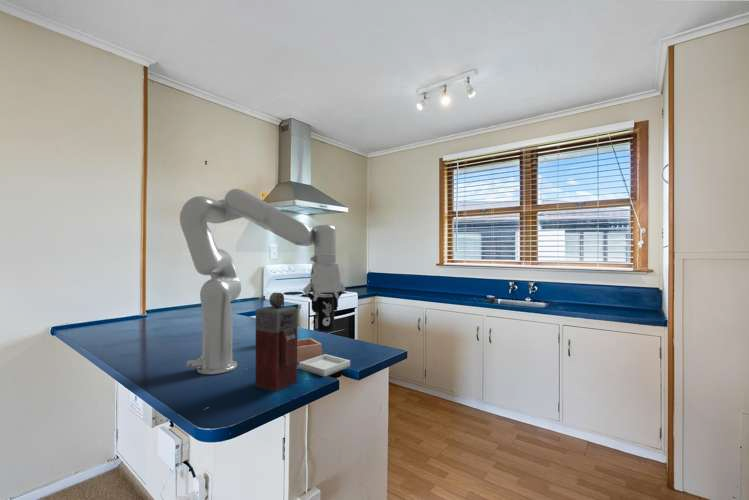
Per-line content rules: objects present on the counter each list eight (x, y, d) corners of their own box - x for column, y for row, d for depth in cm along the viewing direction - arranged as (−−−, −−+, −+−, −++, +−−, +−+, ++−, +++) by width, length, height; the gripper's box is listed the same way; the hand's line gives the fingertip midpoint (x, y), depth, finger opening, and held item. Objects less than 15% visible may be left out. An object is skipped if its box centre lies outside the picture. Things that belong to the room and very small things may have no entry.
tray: (324, 376, 111) (324, 369, 112) (298, 368, 119) (298, 362, 119) (350, 366, 121) (350, 360, 121) (325, 359, 129) (325, 354, 129)
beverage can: (338, 329, 122) (338, 295, 122) (325, 332, 116) (326, 297, 116) (323, 327, 125) (323, 294, 125) (311, 330, 120) (311, 295, 120)
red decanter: (283, 392, 98) (284, 295, 99) (254, 386, 103) (255, 293, 104) (303, 382, 106) (303, 292, 107) (275, 376, 111) (275, 290, 112)
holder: (294, 363, 125) (294, 348, 125) (284, 355, 134) (284, 341, 135) (321, 358, 131) (321, 344, 131) (311, 351, 140) (311, 338, 140)
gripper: (305, 260, 113) (305, 315, 113) (351, 260, 122) (351, 310, 122) (297, 260, 119) (297, 311, 119) (342, 259, 129) (342, 307, 128)
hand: (324, 310), depth 121 cm, fingers closed on beverage can, 6 cm apart
